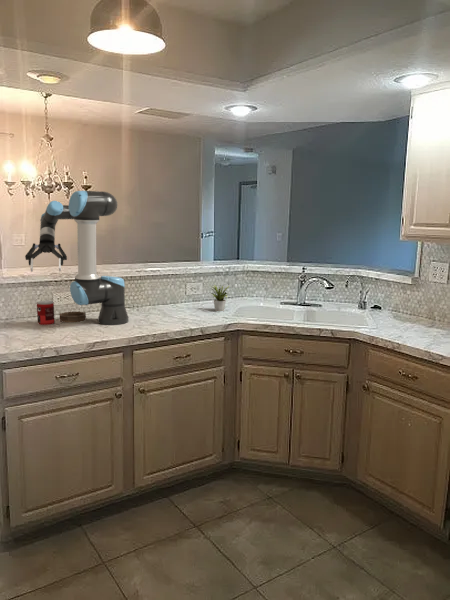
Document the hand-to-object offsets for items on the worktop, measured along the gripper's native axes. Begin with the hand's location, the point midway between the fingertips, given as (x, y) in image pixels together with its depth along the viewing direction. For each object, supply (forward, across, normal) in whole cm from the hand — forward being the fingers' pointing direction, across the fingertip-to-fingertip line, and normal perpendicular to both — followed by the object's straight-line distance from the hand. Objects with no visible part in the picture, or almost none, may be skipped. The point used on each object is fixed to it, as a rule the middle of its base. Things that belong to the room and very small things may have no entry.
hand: (45, 269), depth 255 cm
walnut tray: (+21, -13, -15) cm, 29 cm away
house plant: (+14, -92, -22) cm, 95 cm away
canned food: (+26, 0, -11) cm, 28 cm away
